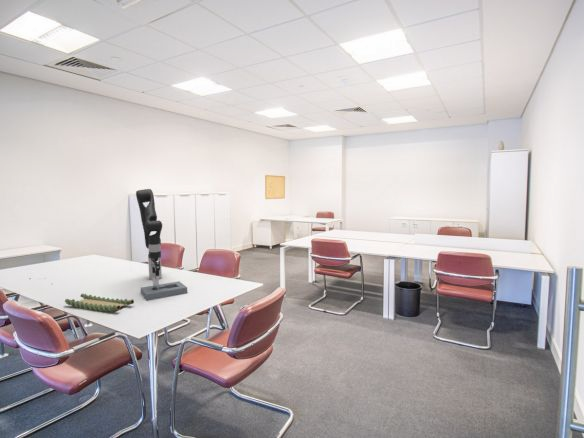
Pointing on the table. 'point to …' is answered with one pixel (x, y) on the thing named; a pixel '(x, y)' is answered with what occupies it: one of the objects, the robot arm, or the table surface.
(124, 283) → the table surface
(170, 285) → the keyhole plate
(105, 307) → the stretcher
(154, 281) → the steel peg
